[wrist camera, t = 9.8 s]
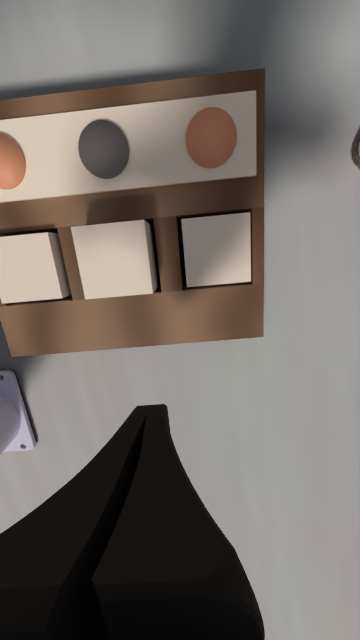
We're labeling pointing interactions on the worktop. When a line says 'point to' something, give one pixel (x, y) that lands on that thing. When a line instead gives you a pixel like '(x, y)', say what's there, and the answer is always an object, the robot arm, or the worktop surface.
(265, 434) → the worktop surface
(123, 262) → the key
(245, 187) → the button board
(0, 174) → the pattern card
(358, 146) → the lighter
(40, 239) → the key
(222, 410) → the worktop surface
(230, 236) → the key
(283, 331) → the worktop surface
